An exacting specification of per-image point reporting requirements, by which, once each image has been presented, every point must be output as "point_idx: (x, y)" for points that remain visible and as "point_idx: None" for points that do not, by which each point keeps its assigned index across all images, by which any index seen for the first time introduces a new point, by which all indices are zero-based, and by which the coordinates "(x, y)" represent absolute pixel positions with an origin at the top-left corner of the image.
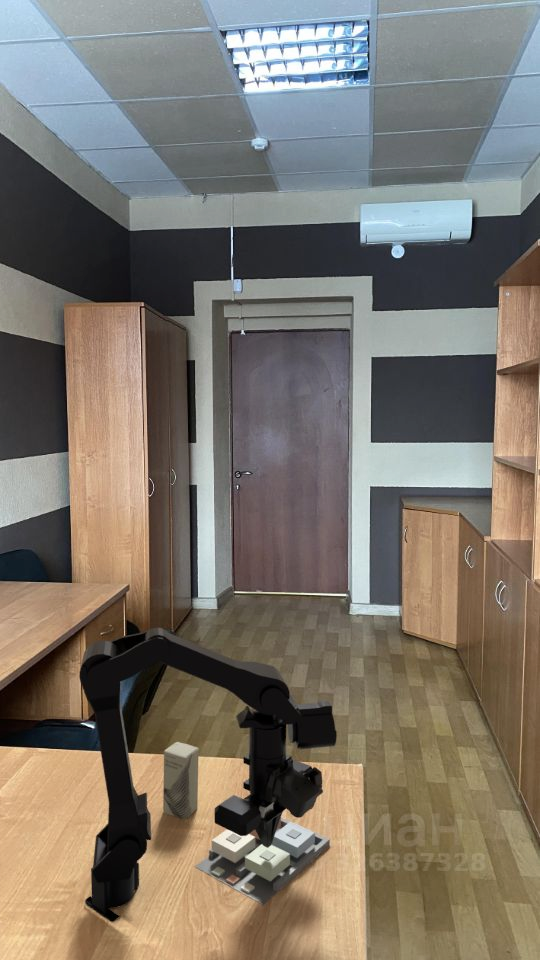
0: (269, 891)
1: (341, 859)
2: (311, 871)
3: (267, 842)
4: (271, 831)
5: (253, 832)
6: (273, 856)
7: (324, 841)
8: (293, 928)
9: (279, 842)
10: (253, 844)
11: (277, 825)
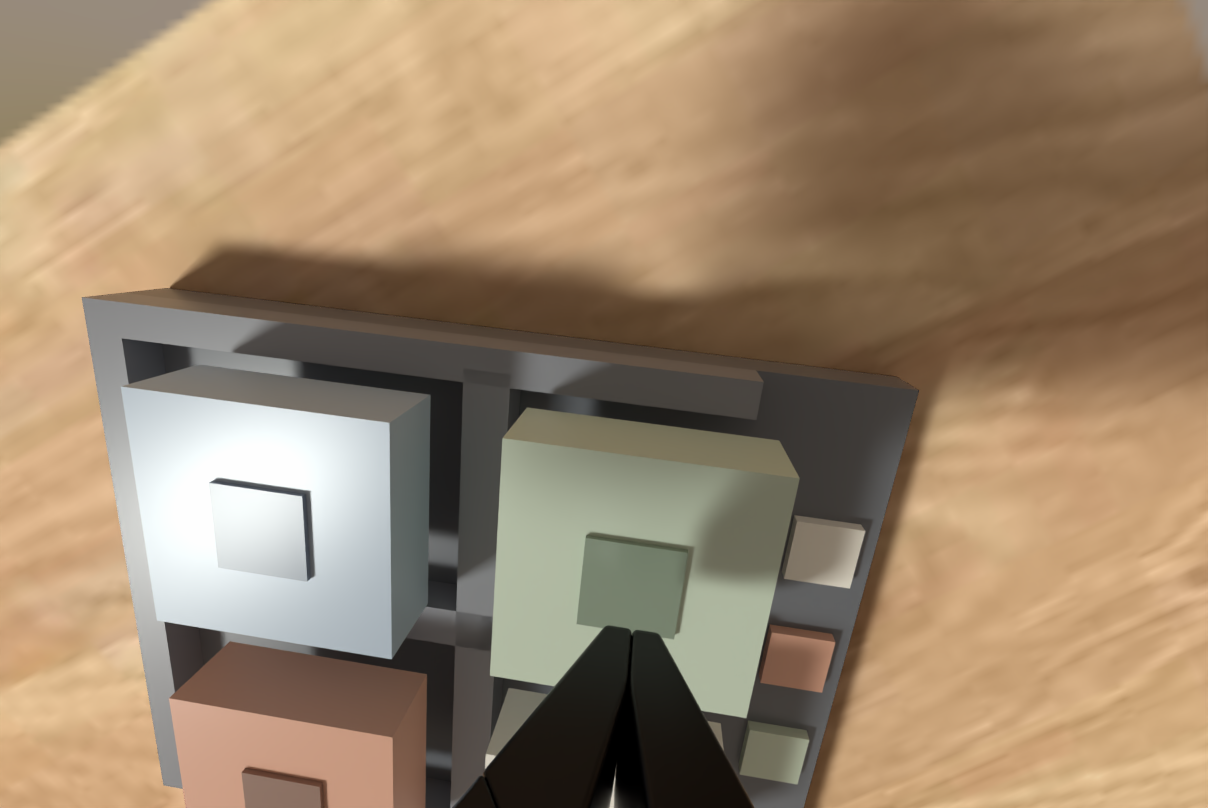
0: (776, 418)
1: (173, 178)
2: (397, 298)
3: (683, 684)
4: (651, 775)
5: (413, 767)
6: (616, 540)
7: (129, 319)
8: (954, 121)
9: (404, 579)
10: (519, 716)
11: (498, 770)
